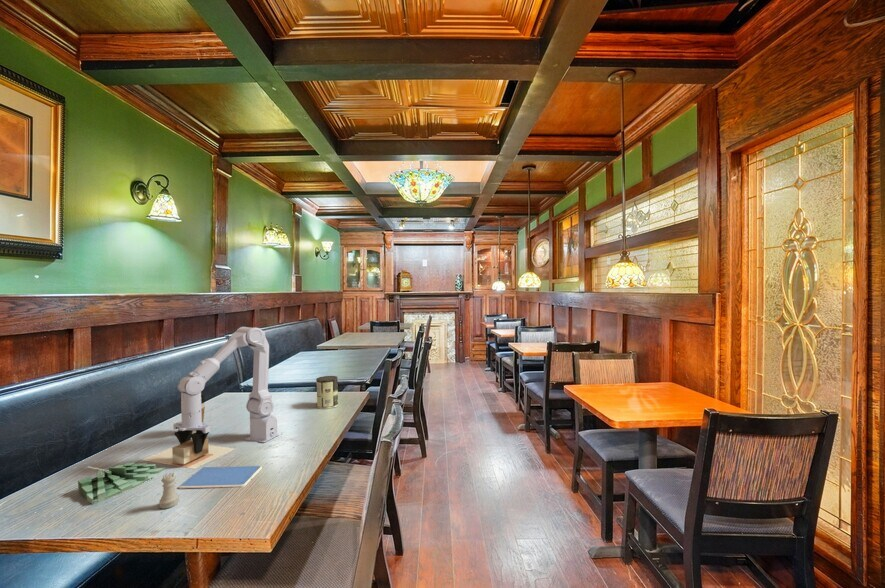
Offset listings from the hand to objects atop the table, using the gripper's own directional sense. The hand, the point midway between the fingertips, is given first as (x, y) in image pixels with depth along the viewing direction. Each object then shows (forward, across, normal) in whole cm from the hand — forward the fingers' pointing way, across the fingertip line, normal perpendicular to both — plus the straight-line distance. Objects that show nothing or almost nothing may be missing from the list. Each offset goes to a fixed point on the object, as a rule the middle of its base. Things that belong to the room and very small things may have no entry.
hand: (192, 451), depth 128 cm
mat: (+3, -5, +3) cm, 7 cm away
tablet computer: (+4, +20, -6) cm, 21 cm away
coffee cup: (+3, -24, +20) cm, 31 cm away
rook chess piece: (+3, +19, -22) cm, 29 cm away
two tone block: (+2, 0, 0) cm, 2 cm away
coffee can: (+3, +8, +66) cm, 67 cm away
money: (+4, -6, -19) cm, 21 cm away
